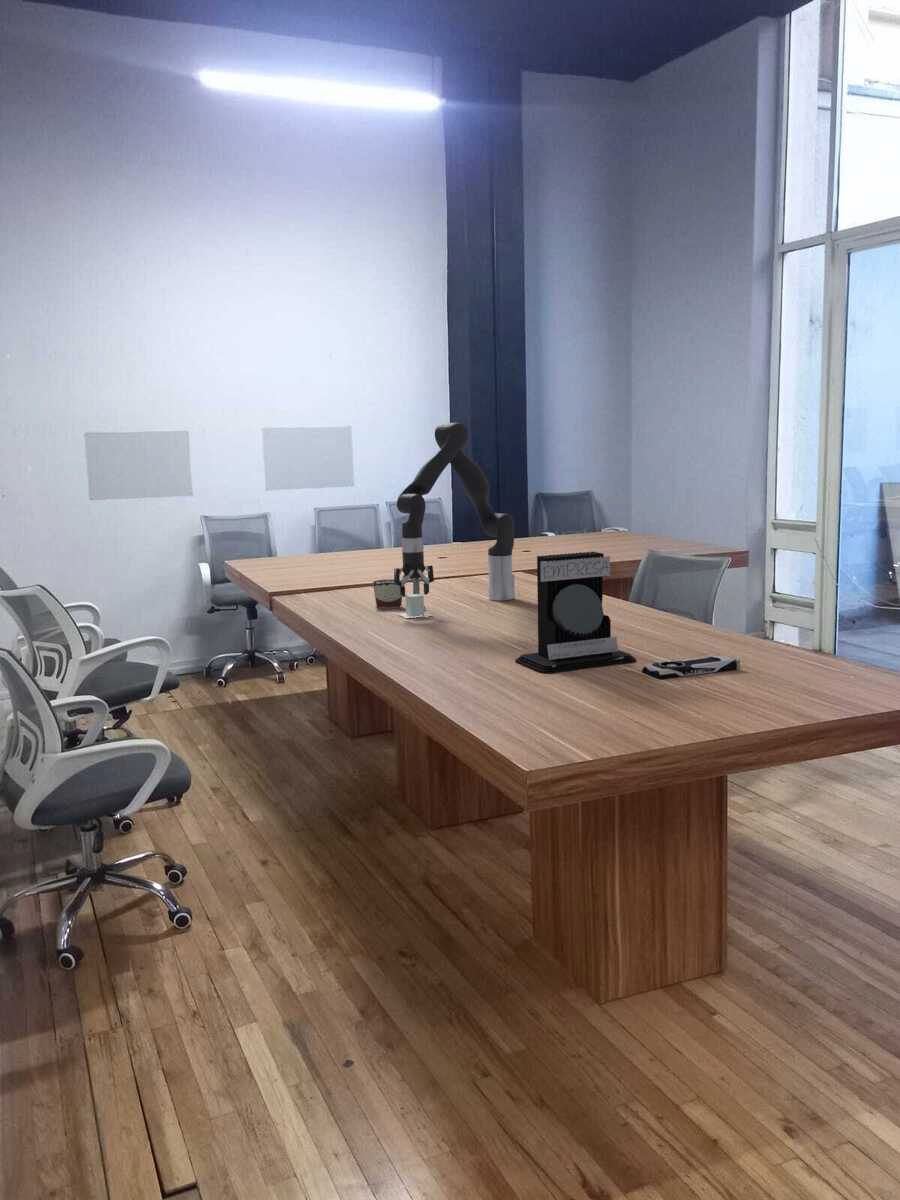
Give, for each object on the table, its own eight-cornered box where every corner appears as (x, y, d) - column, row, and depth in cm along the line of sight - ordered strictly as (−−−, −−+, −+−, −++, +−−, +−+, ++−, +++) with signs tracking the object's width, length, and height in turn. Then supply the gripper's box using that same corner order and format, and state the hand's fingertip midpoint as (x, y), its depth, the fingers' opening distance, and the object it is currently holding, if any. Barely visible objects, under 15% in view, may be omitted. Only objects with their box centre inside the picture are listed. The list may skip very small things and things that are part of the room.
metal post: (421, 608, 378) (420, 554, 375) (427, 610, 373) (426, 556, 370) (406, 609, 376) (404, 555, 373) (412, 611, 371) (410, 557, 367)
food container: (407, 604, 386) (406, 578, 385) (405, 607, 380) (404, 581, 379) (375, 605, 388) (374, 579, 386) (372, 607, 382) (371, 581, 380)
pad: (422, 612, 369) (422, 611, 369) (433, 616, 360) (433, 615, 360) (397, 614, 365) (396, 613, 365) (406, 619, 356) (406, 618, 356)
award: (543, 675, 270) (542, 563, 265) (511, 661, 287) (509, 556, 282) (640, 662, 282) (640, 555, 277) (604, 649, 299) (603, 548, 294)
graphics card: (740, 659, 269) (659, 669, 261) (740, 671, 270) (659, 682, 261) (717, 652, 279) (638, 661, 270) (717, 664, 279) (638, 674, 270)
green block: (419, 612, 366) (418, 593, 365) (424, 615, 361) (423, 595, 360) (406, 614, 364) (405, 594, 363) (411, 616, 359) (410, 596, 358)
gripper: (427, 547, 365) (429, 592, 368) (390, 550, 359) (392, 595, 362) (435, 549, 358) (437, 595, 361) (397, 552, 353) (399, 598, 355)
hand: (414, 595), depth 361 cm, fingers open, 8 cm apart
